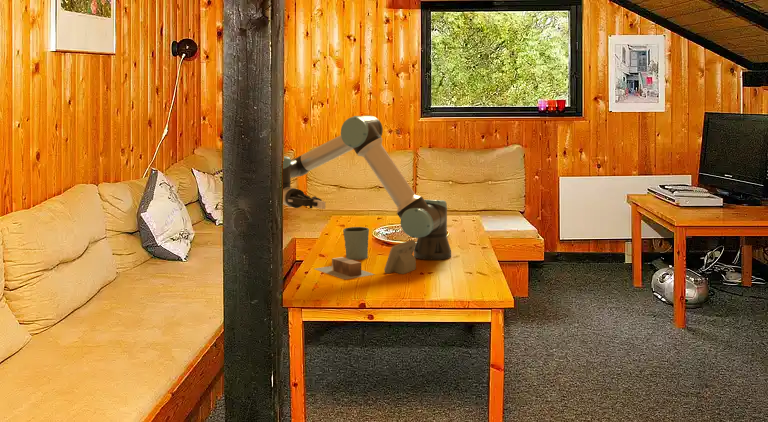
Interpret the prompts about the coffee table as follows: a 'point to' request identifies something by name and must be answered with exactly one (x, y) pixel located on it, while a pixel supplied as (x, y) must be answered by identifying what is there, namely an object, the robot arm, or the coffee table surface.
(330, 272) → the felt mat
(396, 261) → the digital clock
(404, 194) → the robot arm
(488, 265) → the coffee table surface
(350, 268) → the walnut block
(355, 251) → the grey green cup
